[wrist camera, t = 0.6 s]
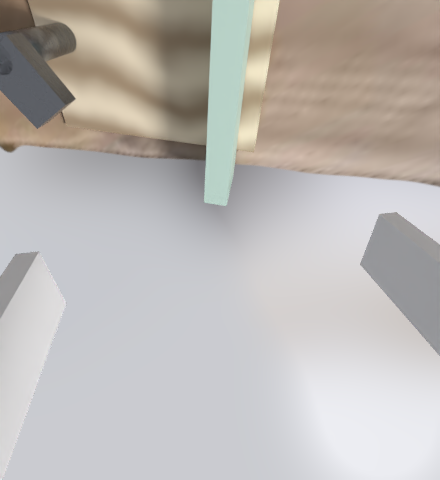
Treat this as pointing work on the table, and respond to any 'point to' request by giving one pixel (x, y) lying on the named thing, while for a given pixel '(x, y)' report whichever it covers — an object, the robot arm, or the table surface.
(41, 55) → the keeper
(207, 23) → the pintle board
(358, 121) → the table surface
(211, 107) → the link
